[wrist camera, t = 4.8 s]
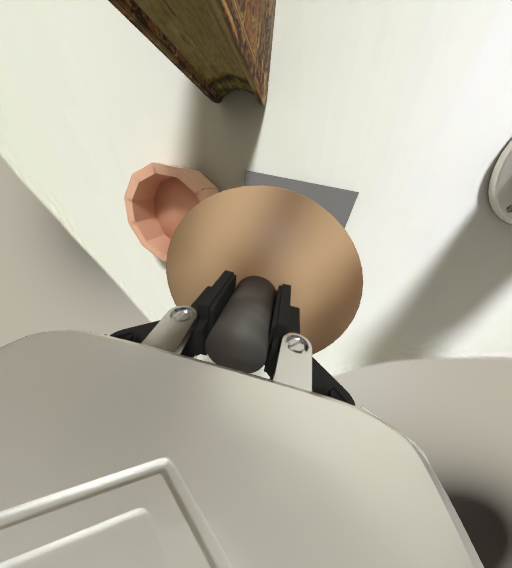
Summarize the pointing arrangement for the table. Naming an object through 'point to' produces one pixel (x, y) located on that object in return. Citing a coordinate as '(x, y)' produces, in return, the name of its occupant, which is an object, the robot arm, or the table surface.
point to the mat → (311, 193)
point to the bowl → (163, 202)
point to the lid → (265, 269)
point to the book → (210, 40)
